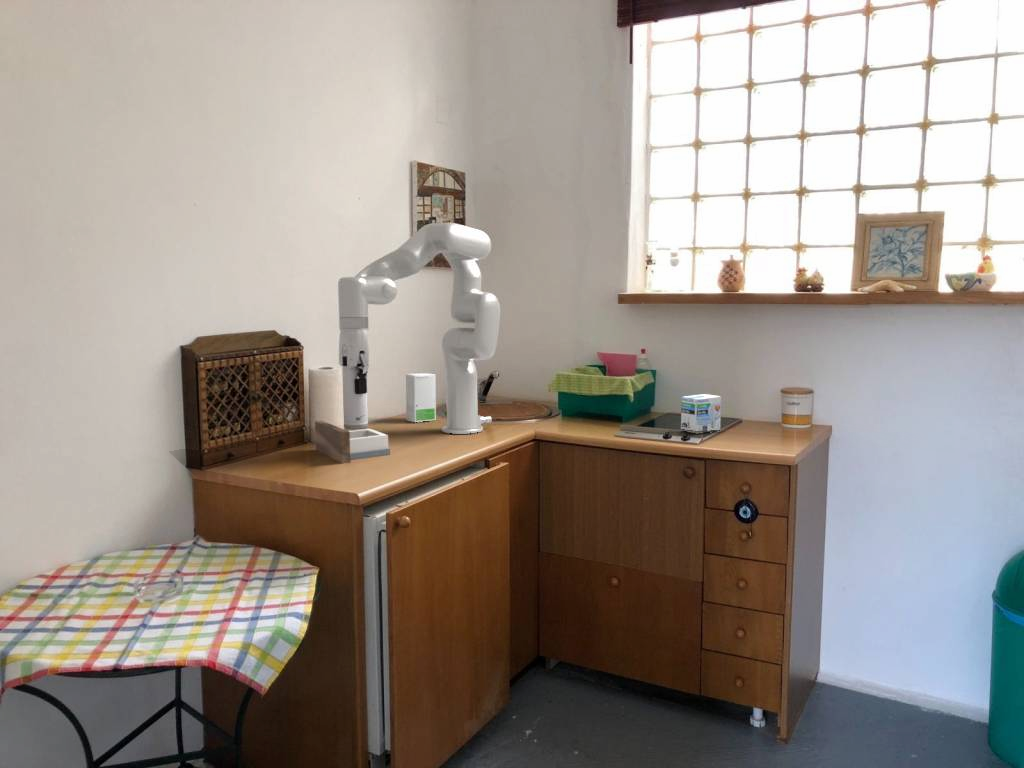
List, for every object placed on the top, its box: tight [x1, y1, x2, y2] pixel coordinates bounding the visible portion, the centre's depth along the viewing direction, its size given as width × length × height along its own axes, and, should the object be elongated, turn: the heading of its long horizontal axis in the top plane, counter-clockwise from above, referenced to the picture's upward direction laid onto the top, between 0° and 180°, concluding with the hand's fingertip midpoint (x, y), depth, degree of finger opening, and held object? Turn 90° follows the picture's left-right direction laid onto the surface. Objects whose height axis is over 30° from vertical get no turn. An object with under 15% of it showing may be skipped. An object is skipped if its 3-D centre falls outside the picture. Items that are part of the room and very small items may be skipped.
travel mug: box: [341, 356, 369, 430], centre depth 211 cm, size 6×7×20 cm
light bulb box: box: [680, 393, 722, 431], centre depth 240 cm, size 11×7×11 cm, turn 123°
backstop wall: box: [314, 420, 351, 464], centre depth 209 cm, size 2×20×8 cm, turn 33°
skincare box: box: [405, 373, 437, 423], centre depth 262 cm, size 8×7×16 cm
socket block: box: [348, 428, 391, 461], centre depth 213 cm, size 12×14×5 cm
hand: (355, 391), depth 211 cm, fingers closed on travel mug, 6 cm apart
